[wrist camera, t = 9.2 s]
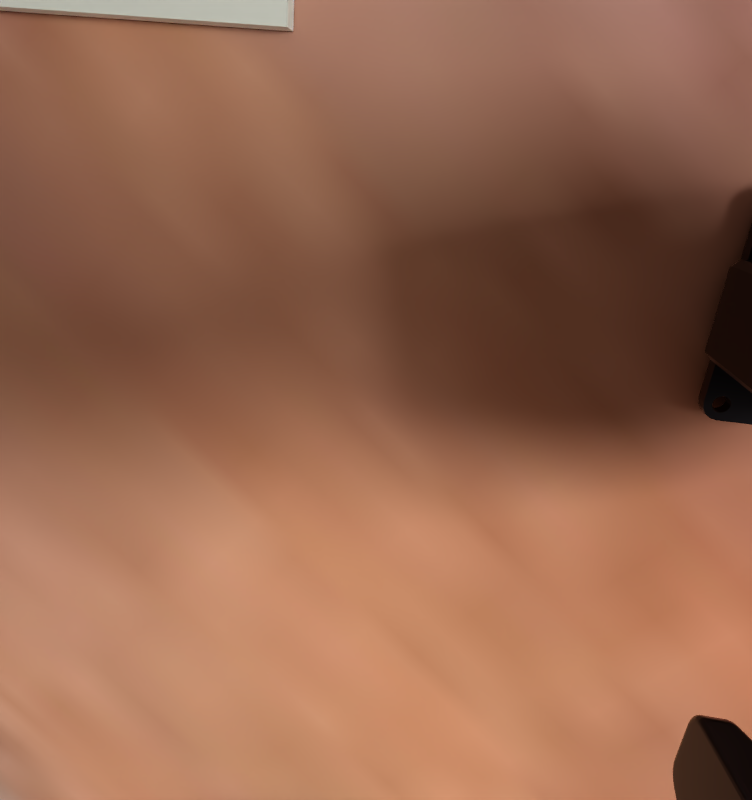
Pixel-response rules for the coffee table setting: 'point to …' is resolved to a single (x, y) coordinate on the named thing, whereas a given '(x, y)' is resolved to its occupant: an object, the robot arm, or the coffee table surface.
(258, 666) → the coffee table surface
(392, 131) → the coffee table surface
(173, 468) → the coffee table surface
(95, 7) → the board
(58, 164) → the coffee table surface
